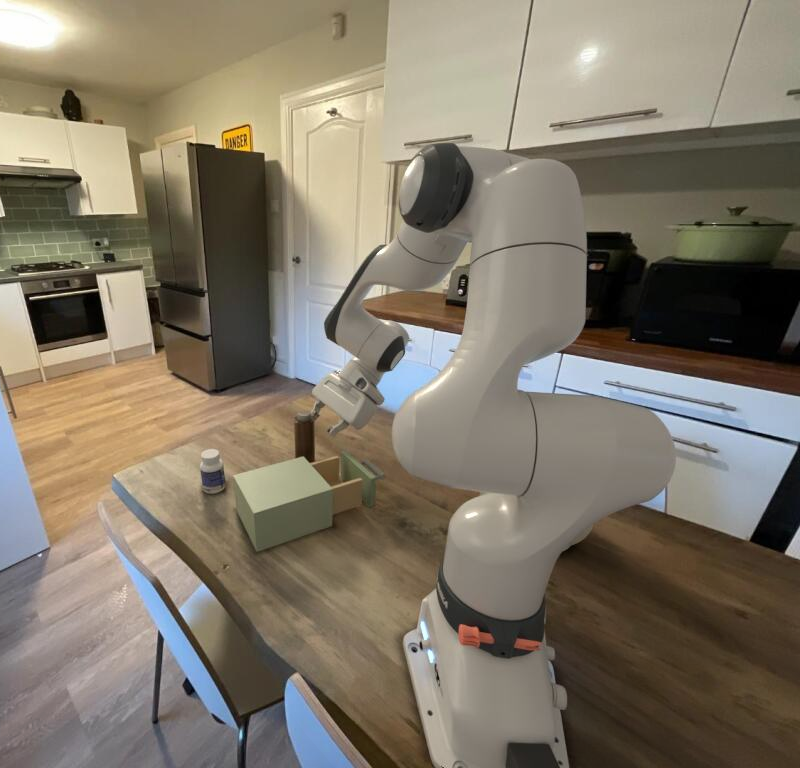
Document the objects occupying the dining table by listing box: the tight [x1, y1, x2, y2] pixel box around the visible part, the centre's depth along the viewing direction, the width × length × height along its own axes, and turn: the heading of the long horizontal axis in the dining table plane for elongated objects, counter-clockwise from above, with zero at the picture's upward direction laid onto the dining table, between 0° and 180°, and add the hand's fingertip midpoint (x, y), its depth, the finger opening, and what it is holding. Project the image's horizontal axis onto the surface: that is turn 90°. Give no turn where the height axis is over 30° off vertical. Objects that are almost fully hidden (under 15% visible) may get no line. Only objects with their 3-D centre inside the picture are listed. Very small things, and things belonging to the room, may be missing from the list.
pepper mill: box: [293, 409, 316, 463], centre depth 97 cm, size 5×5×14 cm
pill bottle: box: [199, 448, 226, 495], centre depth 91 cm, size 5×5×9 cm
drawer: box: [310, 449, 387, 516], centre depth 85 cm, size 19×12×7 cm, turn 113°
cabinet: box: [232, 456, 333, 553], centre depth 81 cm, size 16×13×9 cm
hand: (320, 425), depth 98 cm, fingers open, 8 cm apart
